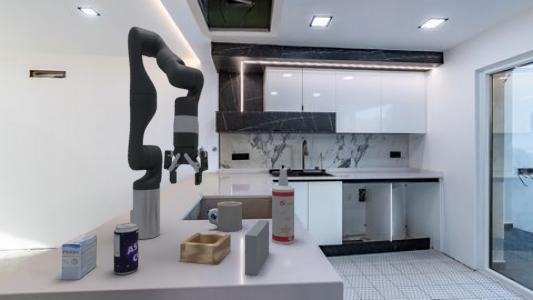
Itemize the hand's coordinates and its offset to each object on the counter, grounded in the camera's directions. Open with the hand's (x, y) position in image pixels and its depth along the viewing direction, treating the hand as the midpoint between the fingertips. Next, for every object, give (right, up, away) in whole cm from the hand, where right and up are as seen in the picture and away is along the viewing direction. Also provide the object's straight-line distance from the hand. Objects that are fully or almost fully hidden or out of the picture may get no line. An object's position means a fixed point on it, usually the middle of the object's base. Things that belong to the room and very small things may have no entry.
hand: (185, 184), depth 88 cm
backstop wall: (+23, -21, -9) cm, 32 cm away
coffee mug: (+8, -21, +26) cm, 35 cm away
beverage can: (-11, -21, -14) cm, 28 cm away
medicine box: (-22, -21, -15) cm, 34 cm away
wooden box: (+7, -21, -4) cm, 22 cm away
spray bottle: (+31, -21, +11) cm, 39 cm away
